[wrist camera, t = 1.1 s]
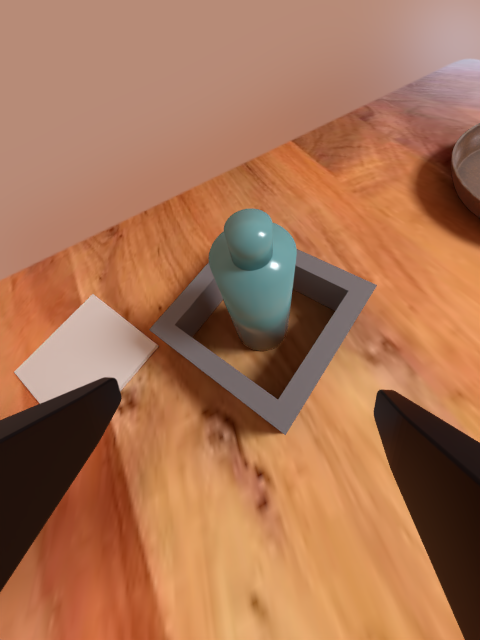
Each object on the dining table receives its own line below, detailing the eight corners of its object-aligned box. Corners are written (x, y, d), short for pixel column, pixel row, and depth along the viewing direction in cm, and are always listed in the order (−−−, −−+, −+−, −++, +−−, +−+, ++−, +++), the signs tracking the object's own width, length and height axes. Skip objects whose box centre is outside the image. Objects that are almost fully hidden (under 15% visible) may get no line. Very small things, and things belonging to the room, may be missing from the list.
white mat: (75, 443, 21) (72, 443, 21) (17, 372, 25) (14, 371, 25) (158, 345, 24) (157, 344, 24) (95, 295, 28) (92, 293, 28)
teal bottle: (269, 361, 22) (260, 286, 10) (227, 333, 24) (178, 241, 12) (297, 319, 23) (319, 210, 12) (255, 295, 25) (237, 180, 13)
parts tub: (283, 433, 19) (285, 435, 16) (168, 344, 24) (149, 329, 20) (361, 307, 23) (376, 285, 19) (246, 250, 28) (242, 224, 24)
